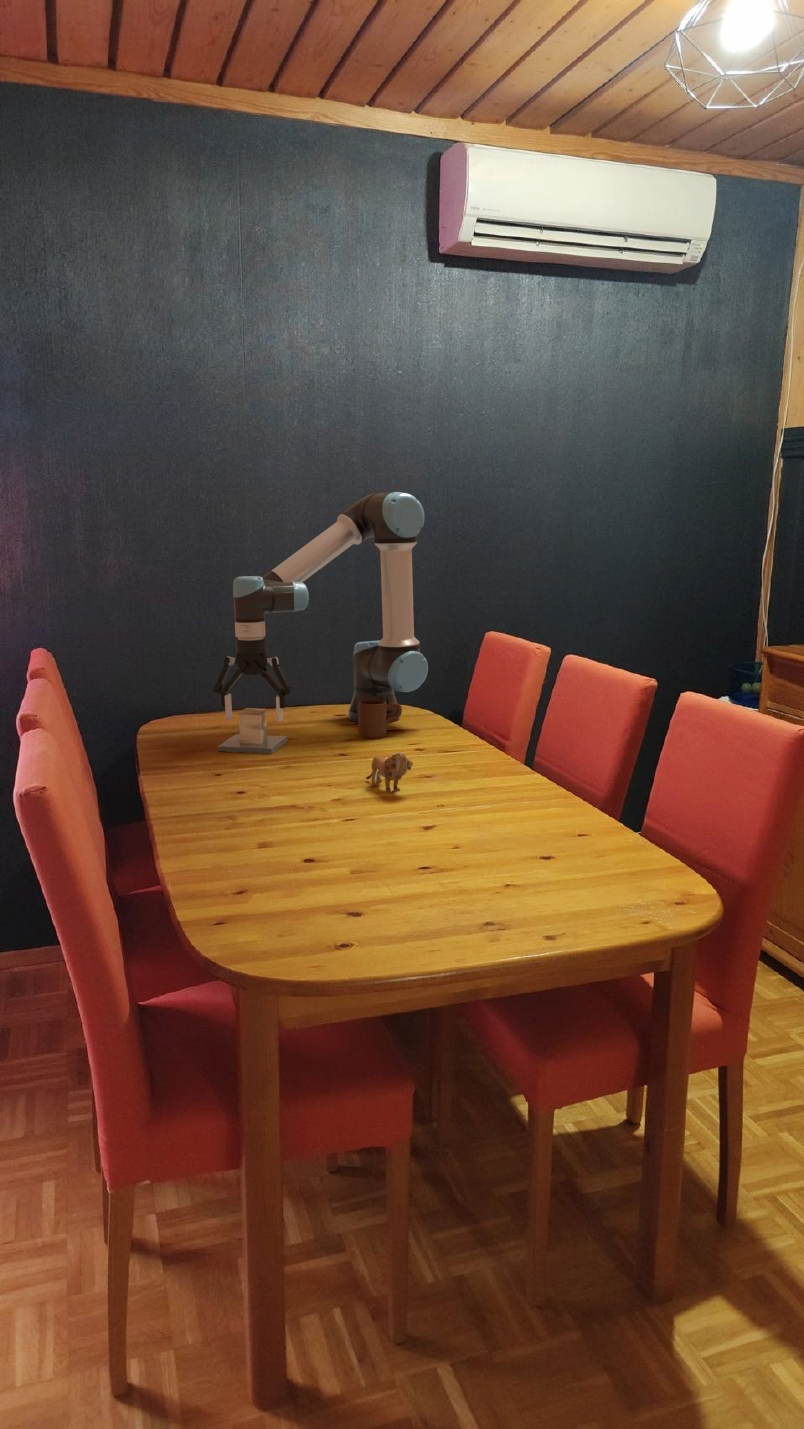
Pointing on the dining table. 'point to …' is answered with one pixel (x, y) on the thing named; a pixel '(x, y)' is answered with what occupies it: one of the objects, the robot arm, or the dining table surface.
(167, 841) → the dining table surface
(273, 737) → the slate board
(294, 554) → the robot arm
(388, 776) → the lion figurine
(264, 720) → the oak block
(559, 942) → the dining table surface
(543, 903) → the dining table surface
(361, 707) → the mug
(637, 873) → the dining table surface
